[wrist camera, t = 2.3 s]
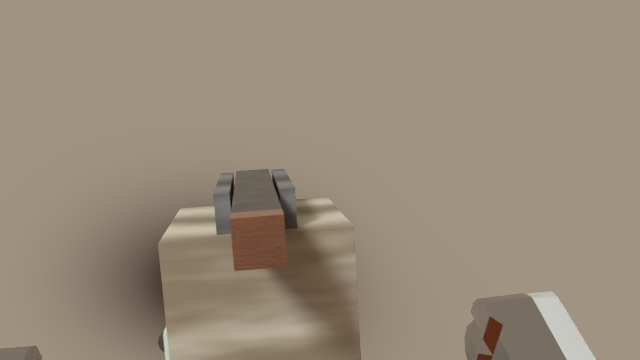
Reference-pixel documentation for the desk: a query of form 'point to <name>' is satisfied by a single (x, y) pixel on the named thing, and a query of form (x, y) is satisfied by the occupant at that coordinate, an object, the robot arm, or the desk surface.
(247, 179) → the bar
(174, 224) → the level stand
